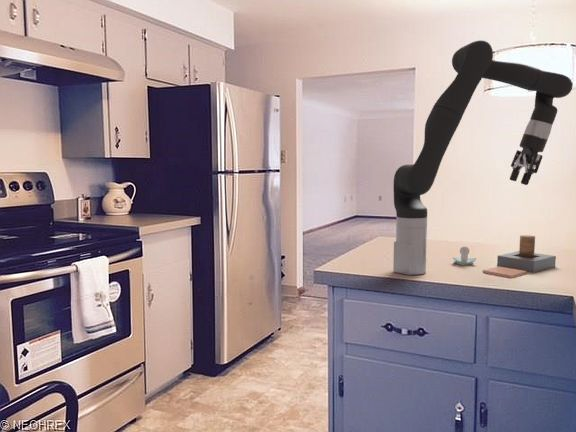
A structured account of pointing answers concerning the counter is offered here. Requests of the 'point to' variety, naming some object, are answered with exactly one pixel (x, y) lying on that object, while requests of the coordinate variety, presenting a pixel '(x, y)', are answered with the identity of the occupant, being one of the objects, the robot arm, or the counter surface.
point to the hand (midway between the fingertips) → (518, 182)
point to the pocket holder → (526, 262)
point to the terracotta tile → (505, 272)
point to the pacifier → (464, 257)
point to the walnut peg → (527, 246)
